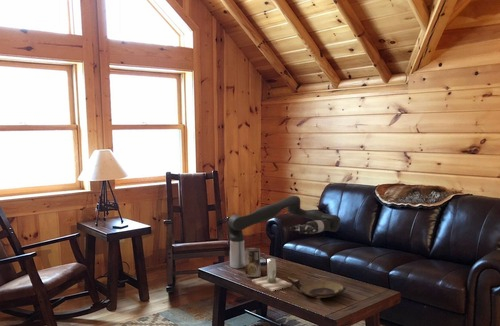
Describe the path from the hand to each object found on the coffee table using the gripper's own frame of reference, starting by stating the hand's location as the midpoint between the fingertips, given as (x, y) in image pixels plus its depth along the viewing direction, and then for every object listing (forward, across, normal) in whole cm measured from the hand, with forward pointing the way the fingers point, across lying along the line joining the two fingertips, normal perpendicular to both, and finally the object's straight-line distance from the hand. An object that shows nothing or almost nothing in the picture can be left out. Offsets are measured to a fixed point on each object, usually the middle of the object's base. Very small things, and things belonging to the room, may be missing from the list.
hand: (294, 230), depth 256 cm
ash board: (+19, +1, +28) cm, 34 cm away
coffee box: (+18, -18, +28) cm, 38 cm away
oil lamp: (+9, +28, +28) cm, 41 cm away
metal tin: (+18, +1, +27) cm, 33 cm away
